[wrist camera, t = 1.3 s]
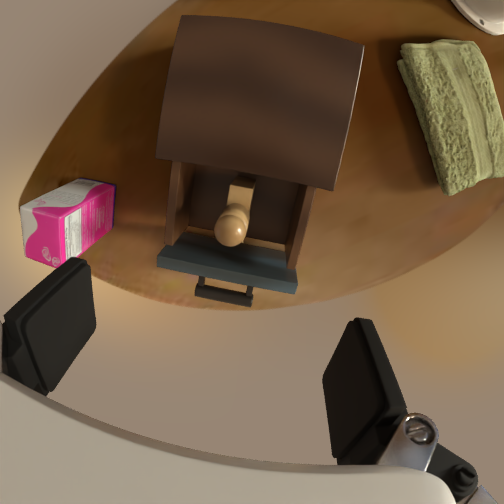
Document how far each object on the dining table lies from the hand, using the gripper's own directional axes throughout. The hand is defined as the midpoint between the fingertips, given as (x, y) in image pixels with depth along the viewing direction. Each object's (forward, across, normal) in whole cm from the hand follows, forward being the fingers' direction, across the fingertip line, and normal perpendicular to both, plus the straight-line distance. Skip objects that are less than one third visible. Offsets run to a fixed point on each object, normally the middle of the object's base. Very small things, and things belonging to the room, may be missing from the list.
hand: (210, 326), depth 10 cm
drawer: (+22, +1, +4) cm, 23 cm away
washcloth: (+23, -21, -15) cm, 35 cm away
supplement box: (+24, +19, +5) cm, 30 cm away
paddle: (+21, +1, +1) cm, 21 cm away
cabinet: (+23, +1, -9) cm, 25 cm away
